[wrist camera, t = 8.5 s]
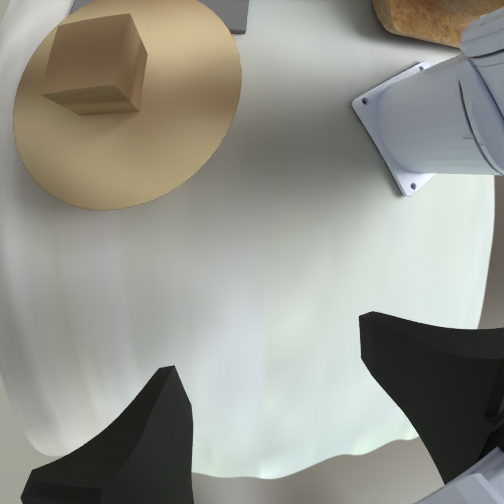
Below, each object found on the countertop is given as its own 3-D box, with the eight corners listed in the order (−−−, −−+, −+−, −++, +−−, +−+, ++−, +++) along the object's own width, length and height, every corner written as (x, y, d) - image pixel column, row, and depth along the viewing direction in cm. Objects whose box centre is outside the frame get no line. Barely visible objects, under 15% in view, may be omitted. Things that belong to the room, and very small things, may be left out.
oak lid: (45, 14, 10) (11, -22, 5) (247, -3, 12) (262, -57, 7) (13, 210, 12) (-43, 222, 8) (231, 211, 14) (243, 223, 10)
